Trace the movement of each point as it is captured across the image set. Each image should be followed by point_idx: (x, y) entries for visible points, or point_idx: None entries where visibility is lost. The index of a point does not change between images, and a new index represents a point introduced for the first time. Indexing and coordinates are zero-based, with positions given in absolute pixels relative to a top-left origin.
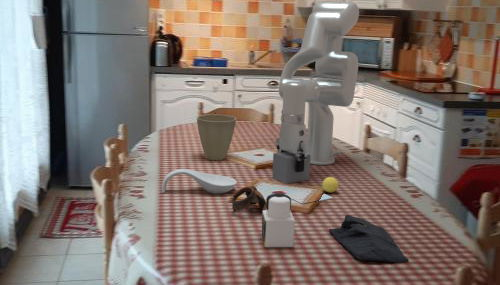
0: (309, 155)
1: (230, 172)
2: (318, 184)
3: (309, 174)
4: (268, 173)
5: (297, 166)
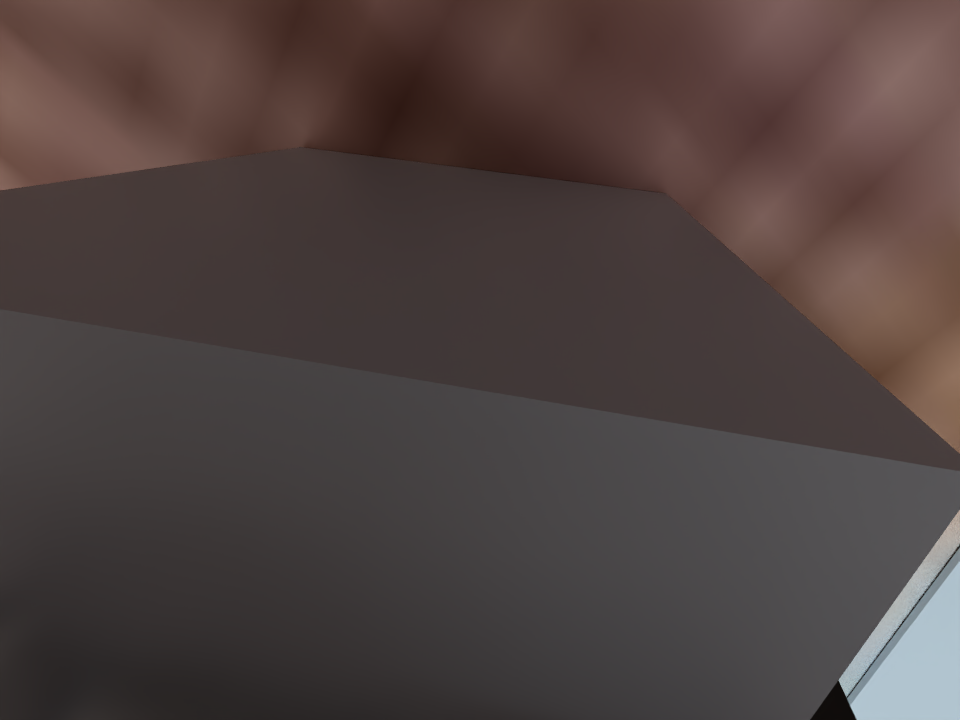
0: (903, 511)
1: None
2: (952, 267)
3: (684, 211)
4: None
5: None
